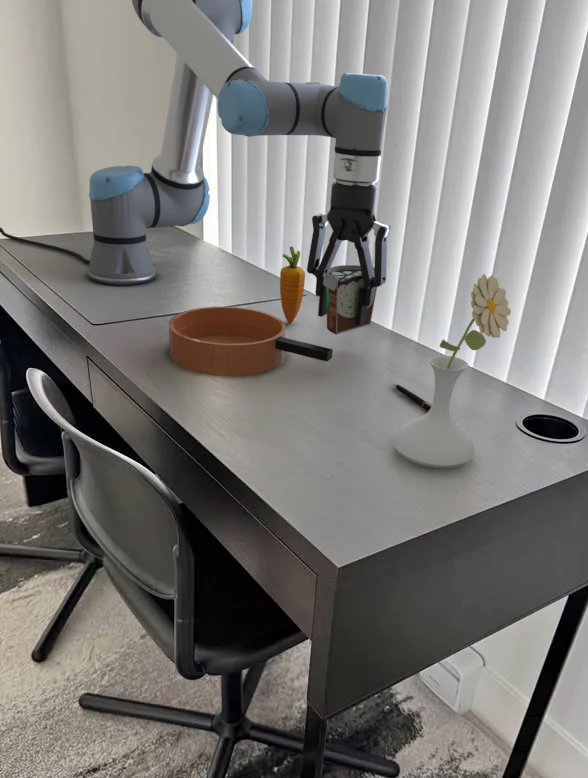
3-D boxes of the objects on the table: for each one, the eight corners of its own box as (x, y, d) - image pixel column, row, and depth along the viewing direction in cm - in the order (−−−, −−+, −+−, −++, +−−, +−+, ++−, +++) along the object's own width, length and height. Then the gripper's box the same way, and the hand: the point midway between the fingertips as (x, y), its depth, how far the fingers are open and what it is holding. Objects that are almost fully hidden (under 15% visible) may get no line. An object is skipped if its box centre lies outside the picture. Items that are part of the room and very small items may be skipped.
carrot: (299, 328, 140) (304, 252, 133) (275, 325, 141) (278, 249, 133) (304, 321, 145) (309, 246, 137) (280, 318, 145) (284, 243, 138)
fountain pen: (388, 386, 118) (389, 378, 117) (394, 385, 118) (395, 377, 118) (440, 422, 107) (442, 413, 106) (446, 421, 108) (448, 412, 107)
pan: (146, 358, 122) (144, 327, 119) (211, 327, 138) (211, 299, 135) (246, 386, 115) (247, 354, 112) (303, 350, 130) (305, 321, 127)
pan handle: (274, 348, 120) (274, 339, 119) (279, 345, 121) (280, 336, 121) (327, 361, 116) (327, 352, 115) (332, 358, 118) (332, 349, 117)
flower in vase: (418, 482, 92) (452, 291, 79) (375, 442, 100) (400, 265, 87) (499, 467, 96) (544, 285, 83) (451, 430, 105) (485, 261, 92)
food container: (350, 314, 134) (356, 261, 129) (375, 323, 130) (382, 268, 125) (305, 326, 126) (309, 270, 121) (330, 336, 122) (335, 278, 117)
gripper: (291, 176, 116) (283, 313, 128) (403, 192, 109) (384, 335, 120) (311, 172, 122) (302, 303, 134) (419, 187, 114) (400, 324, 126)
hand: (341, 318), depth 127 cm, fingers closed on food container, 7 cm apart
